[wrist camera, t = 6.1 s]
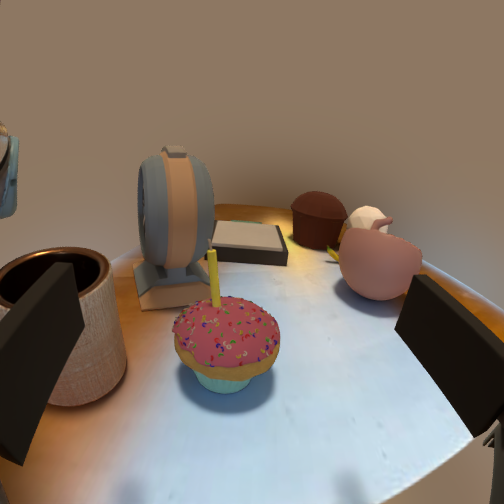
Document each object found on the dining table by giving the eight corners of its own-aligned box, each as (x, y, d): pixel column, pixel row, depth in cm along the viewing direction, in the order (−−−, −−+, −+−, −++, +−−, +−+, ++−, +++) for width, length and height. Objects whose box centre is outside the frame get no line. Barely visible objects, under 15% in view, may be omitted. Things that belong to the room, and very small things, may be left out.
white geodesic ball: (331, 231, 61) (369, 261, 51) (351, 193, 58) (393, 218, 49) (354, 240, 66) (390, 268, 56) (373, 206, 63) (412, 229, 53)
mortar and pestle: (408, 289, 43) (428, 221, 38) (405, 327, 33) (434, 242, 29) (341, 269, 48) (355, 202, 44) (320, 299, 38) (337, 215, 34)
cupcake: (156, 379, 23) (142, 247, 18) (212, 332, 30) (217, 220, 25) (243, 427, 19) (262, 291, 15) (288, 365, 26) (313, 245, 22)
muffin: (352, 247, 59) (361, 200, 55) (319, 256, 52) (328, 202, 48) (310, 229, 67) (316, 186, 63) (274, 235, 60) (280, 187, 57)
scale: (204, 259, 46) (205, 241, 45) (212, 231, 59) (213, 217, 58) (286, 266, 47) (289, 248, 46) (277, 236, 60) (279, 222, 59)
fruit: (359, 262, 51) (362, 247, 50) (361, 265, 50) (365, 249, 49) (322, 260, 51) (326, 244, 50) (324, 262, 50) (327, 246, 49)
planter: (82, 318, 28) (68, 237, 25) (151, 363, 24) (141, 268, 21) (7, 363, 19) (-26, 274, 16) (65, 433, 15) (14, 334, 11)
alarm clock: (132, 263, 42) (130, 144, 36) (192, 257, 47) (197, 144, 40) (142, 316, 31) (136, 149, 24) (224, 304, 35) (235, 150, 28)
